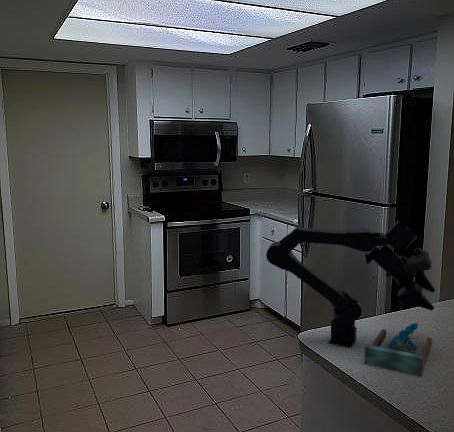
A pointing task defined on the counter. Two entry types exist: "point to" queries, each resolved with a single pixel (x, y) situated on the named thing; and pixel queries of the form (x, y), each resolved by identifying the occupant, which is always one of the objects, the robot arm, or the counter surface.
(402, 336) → the blue irregular piece
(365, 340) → the counter surface
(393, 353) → the guide channel
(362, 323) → the counter surface
